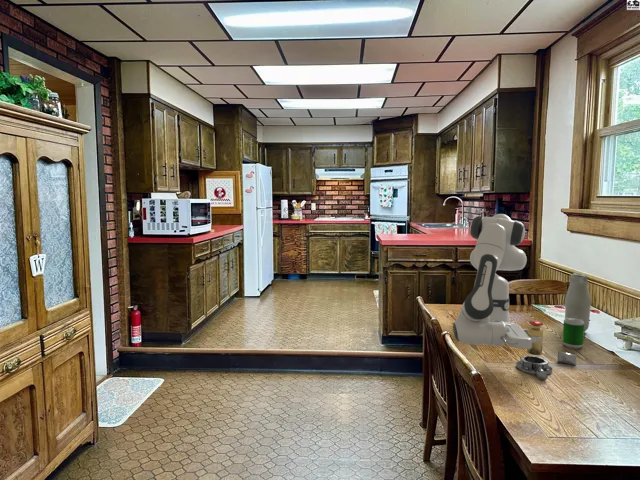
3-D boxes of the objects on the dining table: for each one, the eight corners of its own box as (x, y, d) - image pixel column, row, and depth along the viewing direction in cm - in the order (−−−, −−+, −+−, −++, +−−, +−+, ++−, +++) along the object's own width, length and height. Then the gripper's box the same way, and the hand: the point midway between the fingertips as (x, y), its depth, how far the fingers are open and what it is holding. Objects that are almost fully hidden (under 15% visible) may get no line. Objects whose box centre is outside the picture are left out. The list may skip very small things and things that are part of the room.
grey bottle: (590, 331, 203) (593, 273, 200) (585, 336, 196) (589, 276, 193) (567, 327, 210) (570, 270, 207) (561, 331, 203) (564, 273, 200)
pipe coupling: (557, 363, 165) (557, 353, 165) (558, 359, 168) (559, 349, 168) (575, 367, 162) (575, 357, 161) (576, 362, 165) (576, 353, 164)
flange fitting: (524, 379, 150) (524, 369, 150) (512, 361, 167) (513, 353, 166) (561, 382, 148) (562, 372, 148) (546, 363, 164) (546, 355, 164)
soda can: (585, 349, 179) (587, 321, 178) (566, 348, 180) (567, 320, 179) (578, 343, 186) (580, 316, 185) (560, 342, 188) (561, 316, 186)
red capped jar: (524, 352, 159) (525, 321, 158) (531, 349, 162) (533, 319, 161) (537, 356, 155) (538, 325, 154) (544, 353, 158) (546, 322, 157)
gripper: (505, 334, 150) (547, 336, 148) (493, 318, 170) (530, 320, 168) (504, 351, 151) (546, 354, 148) (492, 334, 171) (529, 336, 168)
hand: (538, 336), depth 158 cm, fingers closed on red capped jar, 5 cm apart
